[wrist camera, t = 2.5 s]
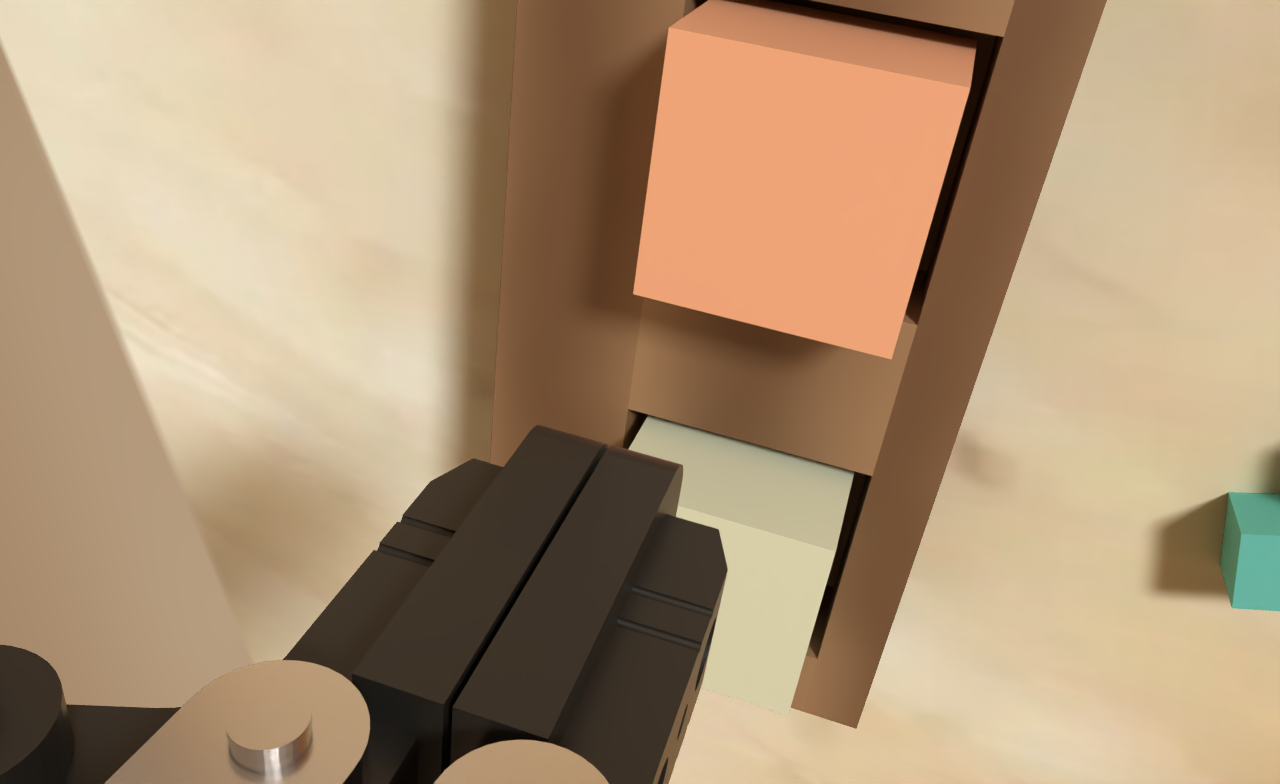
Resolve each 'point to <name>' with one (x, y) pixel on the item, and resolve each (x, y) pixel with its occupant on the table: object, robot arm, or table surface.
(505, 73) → the table surface
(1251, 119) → the table surface
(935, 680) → the table surface
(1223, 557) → the alien figure
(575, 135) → the button panel
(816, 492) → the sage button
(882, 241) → the terracotta button
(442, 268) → the table surface
